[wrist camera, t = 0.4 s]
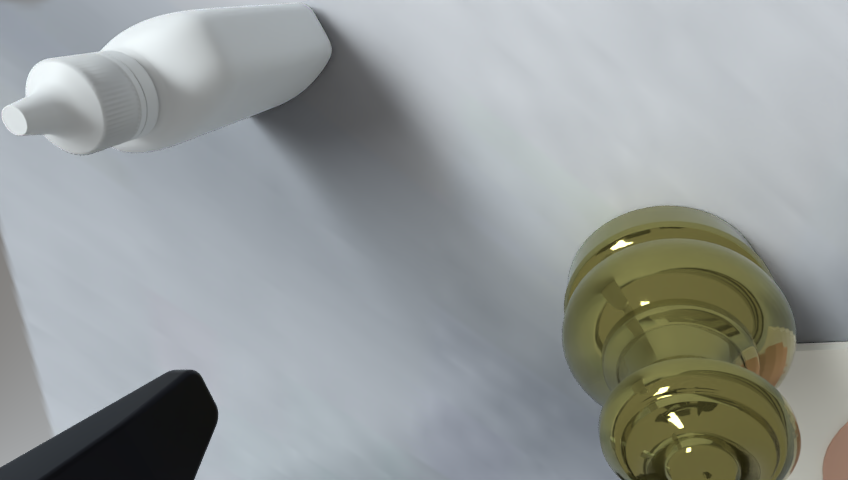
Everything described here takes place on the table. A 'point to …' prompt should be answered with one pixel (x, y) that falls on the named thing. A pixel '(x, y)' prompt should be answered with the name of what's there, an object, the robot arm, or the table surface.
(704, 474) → the brass door knob
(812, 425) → the card
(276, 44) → the eye dropper bottle
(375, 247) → the table surface
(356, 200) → the table surface
